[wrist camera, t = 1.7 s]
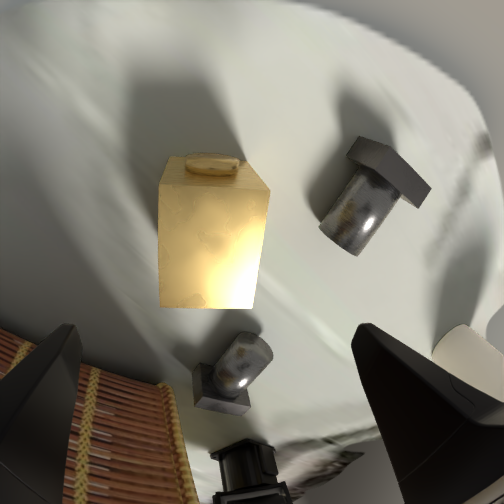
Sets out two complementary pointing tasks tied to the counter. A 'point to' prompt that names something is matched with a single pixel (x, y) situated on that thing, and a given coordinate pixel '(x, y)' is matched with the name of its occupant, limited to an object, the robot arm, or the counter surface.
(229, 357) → the shaft
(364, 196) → the shaft
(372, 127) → the counter surface
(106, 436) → the picnic basket
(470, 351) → the foam cup
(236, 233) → the tan block
